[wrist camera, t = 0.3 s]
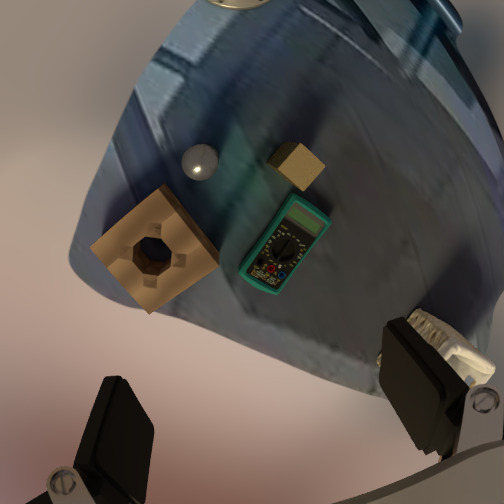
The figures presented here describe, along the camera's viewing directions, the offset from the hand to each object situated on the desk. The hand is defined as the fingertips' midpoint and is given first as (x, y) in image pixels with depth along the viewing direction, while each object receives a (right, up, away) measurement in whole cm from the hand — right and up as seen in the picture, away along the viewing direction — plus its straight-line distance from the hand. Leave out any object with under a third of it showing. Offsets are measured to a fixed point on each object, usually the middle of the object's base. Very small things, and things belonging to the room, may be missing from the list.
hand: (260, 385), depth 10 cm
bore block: (-14, +6, +35) cm, 38 cm away
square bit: (+4, +17, +32) cm, 37 cm away
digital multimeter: (+4, +6, +37) cm, 38 cm away
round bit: (-7, +18, +31) cm, 36 cm away
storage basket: (+37, -16, +49) cm, 64 cm away
